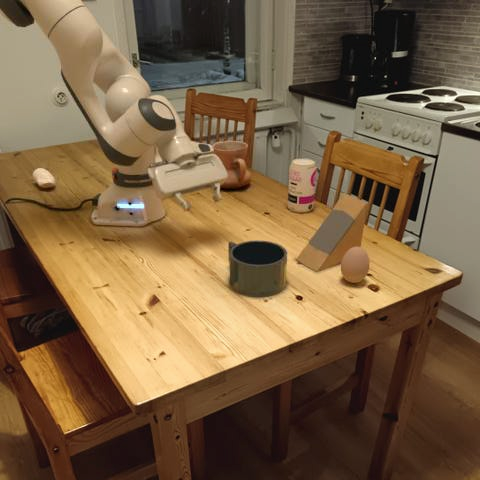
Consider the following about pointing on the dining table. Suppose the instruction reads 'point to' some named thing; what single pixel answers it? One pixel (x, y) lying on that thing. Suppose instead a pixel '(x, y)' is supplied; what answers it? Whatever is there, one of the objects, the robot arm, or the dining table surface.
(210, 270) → the dining table surface
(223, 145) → the ceramic jug
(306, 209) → the supplement can
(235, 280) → the coffee mug
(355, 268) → the egg
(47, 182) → the roll
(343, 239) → the sandwich container
